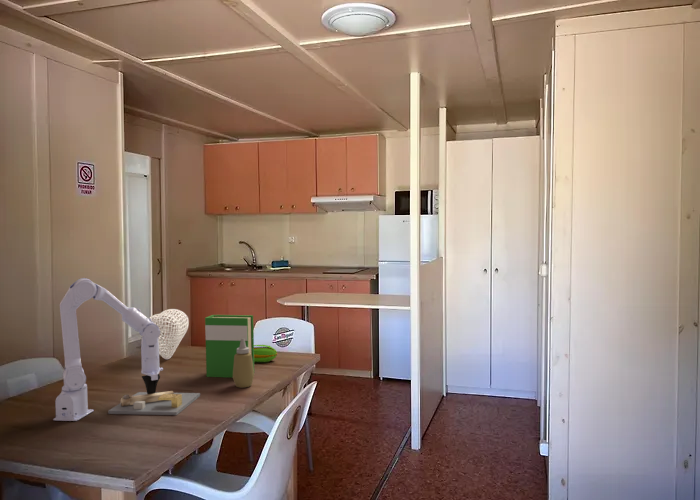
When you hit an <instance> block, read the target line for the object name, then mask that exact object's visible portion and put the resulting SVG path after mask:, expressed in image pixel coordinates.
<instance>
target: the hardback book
mask: <svg viewBox="0 0 700 500" xmlns="http://www.w3.org/2000/svg"><path fill="white" fill-rule="evenodd" d="M204 324H205V325H204V327H205V328H204V329H205V330H204V331H205V333H204V334H205V364H206V365H205V370H206V371H205V373H206V374H205V375H206V377H207V378H232V379H233V366H234V356H235V354H237V348H239V347H240V342H241V339H242V338H244V340H245V344H246V347H248V348H249V353H250V354H252V361H253V369H254V370H255V362H254V347H255V346H254V345H255V344H254V343H255V340H254V339H255V336H254V334H255V333H254V331H255V330H254V315H252V314H249V315H248V314H247V315H246V314H243V315H242V314H241V315H239V314H211V315H209V316H206V317H204Z"/></svg>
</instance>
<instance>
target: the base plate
mask: <svg viewBox="0 0 700 500" xmlns="http://www.w3.org/2000/svg"><path fill="white" fill-rule="evenodd" d="M156 393H160V392H157V391H156ZM173 393H174V394H182V405H180V406H179V407H178V408H172V403H171V400H162V401H155V402H148V403H145V408H143V409H134V405H129V406H121V402H120V403H118V404H117V405H115V406H113V407H112V408H110V409H108V411H107V412H108V413H107V414H108V415H110V414H111V415H143V416H144V415H147V416H148V415H151V416H152V415H153V416H154V415H155V416H156V415H157V416H178V415H179V414H180V413H181V412H183V411H184V410H185V409H186V408H187V407H188V406H190V405H191V404H192V403H193V402H195V401H196V400H198V399H199V398H200V397H201V393H200V392H173ZM145 394H147V391H138V392H136V393H135V394H132V396H138V395H145Z"/></svg>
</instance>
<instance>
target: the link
mask: <svg viewBox="0 0 700 500" xmlns="http://www.w3.org/2000/svg"><path fill="white" fill-rule="evenodd" d="M174 393H175V392H174V391H173V390H170V391H169V390H168V391H162V392H160V393H153V394H145V395H138V396H133V395H131V396H130V394H124V395H122V397H121V398H120V403H121V406H129V405H134V402H136V401H145V403H148V402H155V401H162V400H158V397H160V396H161V395H162V394H174Z"/></svg>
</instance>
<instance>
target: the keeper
mask: <svg viewBox="0 0 700 500" xmlns="http://www.w3.org/2000/svg"><path fill="white" fill-rule="evenodd" d="M158 400H171V403H172V408H178V407H179V406H180V405H182V394H162V395H161V396H160V397H158Z"/></svg>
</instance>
